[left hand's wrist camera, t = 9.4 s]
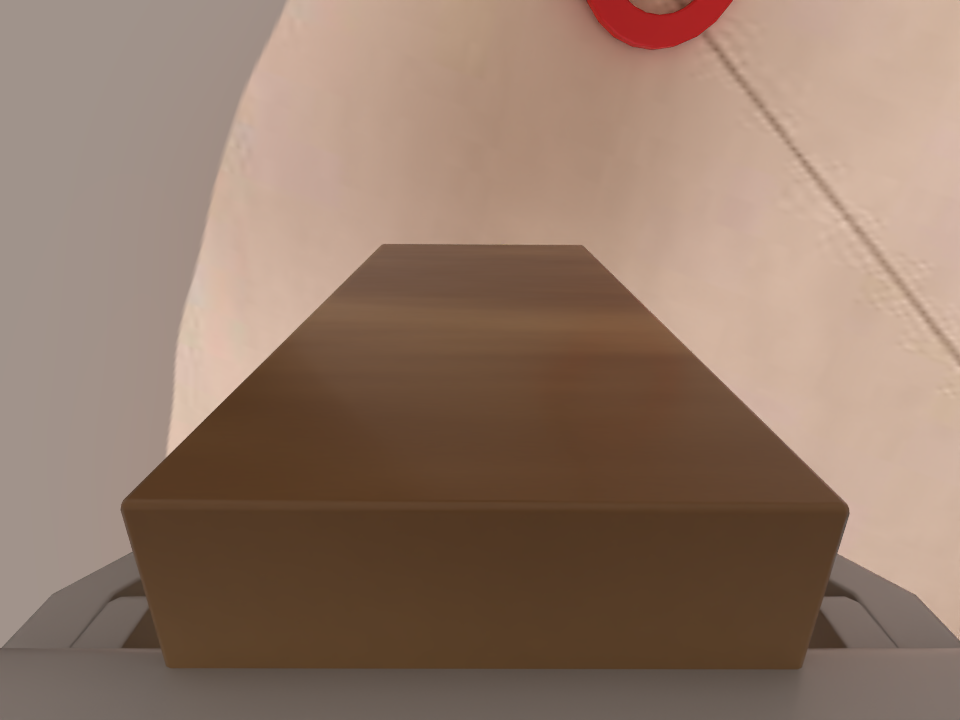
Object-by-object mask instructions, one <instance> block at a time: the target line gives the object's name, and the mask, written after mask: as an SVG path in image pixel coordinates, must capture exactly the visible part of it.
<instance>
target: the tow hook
mask: <svg viewBox="0 0 960 720" xmlns="http://www.w3.org/2000/svg"><path fill="white" fill-rule="evenodd" d="M587 2H588V4H589V6H590V8H591V9H592V11H593V13H594V15H595V17H596V18H597V20H598V22H599V23H600V24H601V25H602V26H603V27H604V28H605V29H606V30H607V31H608V32H609V33H610V34H611V35H612V36H613V37H615V38H617V39H619V40H621V41H623V42H624V43H626V44H628V45H630V46H633V47H639V48H644V49H650V50H654V49H661V48H668V47H673V46H676V45H679V44H681V43H683V42H685V41H688V40H690V39H692V38H694V37H697V36H698V35H699V34H701V33H702V32H703V31H704V30H706V29H707V28H708V27H710V26H711V25H712V24H713V23H715V22H716V21H717V19H718V18H719V17H720V16H721V15H722V13H723V12H724V11H725V10H726V8H727V7H728V6H729V5H730V3H731V2H732V0H693V1H692V2H691V3H689V4H688V5H687V6H686V7H684V8H683V9H681V10H679V11H677V12H674V13H669V14H662V15H658V14H652V13H646V12H644V11H643V10H641V9H639V8H637V7H635V6H634V5H633V4H632V3H631V2H630V1H629V0H587Z"/></svg>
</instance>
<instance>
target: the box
mask: <svg viewBox="0 0 960 720" xmlns="http://www.w3.org/2000/svg"><path fill="white" fill-rule="evenodd" d="M121 513H122V516H123V519H124V523H125V526H126V530H127V533H128V537H129V540H130V544H131V547H132V551H133V554H134V557H135V561H136V564H137V568H138V571H139V575H140V578H141V582H142V585H143V588H144V592H145V595H146V599H147V602H148V606H149V609H150V613H151V616H152V619H153V623H154V626H155V630H156V633H157V637H158V640H159V644H160V647H161V650H162V654H163V657H164V661H165V664H166V667H169V668H316V669H800V668H802V665H803V662H804V659H805V656H806V652H807V649H808V646H809V643H810V640H811V636H812V633H813V630H814V627H815V623H816V620H817V617H818V614H819V610H820V607H821V604H822V601H823V598H824V594H825V591H826V588H827V585H828V581H829V578H830V575H831V572H832V568H833V565H834V562H835V559H836V556H837V552H838V549H839V546H840V543H841V539H842V536H843V533H844V530H845V527H846V523H847V520H848V517H849V508H848V505H847V504H846V503H845V502H844V501H843V500H842V499H841V498H840V497H839V496H838V495H837V494H836V493H835V492H834V491H833V490H832V489H831V488H830V487H829V486H828V485H827V484H826V483H825V482H824V481H823V480H822V479H821V478H820V477H819V476H818V475H817V474H816V473H815V472H814V471H813V470H812V469H811V468H810V467H809V466H808V465H807V464H806V463H805V462H804V461H802V460H801V459H800V458H799V457H798V456H797V455H796V454H795V453H794V452H793V451H792V450H791V449H790V448H789V447H788V446H787V445H786V444H785V443H784V442H783V441H782V440H781V439H780V438H779V437H778V436H777V435H776V434H775V433H774V432H773V431H772V430H771V429H770V428H769V427H768V426H767V425H766V424H765V423H764V422H763V421H762V420H761V419H760V418H759V417H758V416H757V415H755V414H754V413H753V412H752V411H751V410H750V409H749V408H748V407H747V406H746V405H745V404H744V403H743V402H742V401H741V400H740V399H739V398H738V397H737V396H736V395H735V394H734V393H733V392H732V391H731V390H730V389H729V388H728V387H727V386H726V385H725V384H724V383H723V382H722V381H721V380H720V379H719V378H718V377H717V376H716V375H715V374H714V373H713V372H712V371H711V370H709V369H708V368H707V367H706V366H705V365H704V364H703V363H702V362H701V361H700V360H699V359H698V358H697V357H696V356H695V355H694V354H693V353H692V352H691V351H690V350H689V349H688V348H687V347H686V346H685V345H684V344H683V343H682V342H681V341H680V340H679V339H678V338H677V337H676V336H675V335H674V334H673V333H672V332H671V331H670V330H669V329H668V328H667V327H666V326H665V325H664V324H662V323H661V322H660V321H659V320H658V319H657V318H656V317H655V316H654V315H653V314H652V313H651V312H650V311H649V310H648V309H647V308H646V307H645V306H644V305H643V304H642V303H641V302H640V301H639V300H638V299H637V298H636V297H635V296H634V295H633V294H632V293H631V292H630V291H629V290H628V289H627V288H626V287H625V286H624V285H623V284H622V283H621V282H620V281H619V280H618V279H617V278H615V277H614V276H613V275H612V274H611V273H610V272H609V271H608V270H607V269H606V268H605V267H604V266H603V265H602V264H601V263H600V262H599V261H598V260H597V259H596V258H595V257H594V256H593V255H592V254H591V253H590V252H589V251H588V250H587V249H586V248H585V247H584V246H582V245H442V244H383V245H381V246H380V247H379V248H378V249H377V250H376V251H375V252H374V253H373V254H372V255H371V256H370V257H369V258H368V259H367V260H366V261H365V262H364V263H363V264H362V265H361V266H360V267H359V268H358V269H357V270H356V271H355V272H354V273H353V274H352V275H351V276H350V277H349V278H348V279H347V280H346V281H345V282H344V283H343V284H342V285H341V286H340V287H339V288H338V289H337V290H336V291H335V292H334V293H333V294H332V295H331V296H330V297H329V298H328V299H327V300H326V301H325V302H324V303H323V304H321V305H320V306H319V307H318V308H317V309H316V310H315V311H314V312H313V313H312V314H311V315H310V316H309V317H308V318H307V319H306V320H305V321H304V322H303V323H302V324H301V325H300V326H299V327H298V328H297V329H296V330H295V331H294V332H293V333H292V334H291V335H290V336H289V337H288V338H287V339H286V340H285V341H284V342H283V343H282V344H281V345H280V346H279V347H278V348H277V349H276V350H275V351H274V352H273V353H272V354H271V355H270V356H269V357H268V358H267V359H266V360H265V361H264V362H263V363H262V364H261V365H260V366H259V367H258V368H257V369H256V370H255V371H254V372H253V373H252V374H251V375H250V376H249V377H248V378H247V379H246V380H245V381H244V382H242V383H241V384H240V385H239V386H238V387H237V388H236V389H235V390H234V391H233V392H232V393H231V394H230V395H229V396H228V397H227V398H226V399H225V400H224V401H223V402H222V403H221V404H220V405H219V406H218V407H217V408H216V409H215V410H214V411H213V412H212V413H211V414H210V415H209V416H208V417H207V418H206V419H205V420H204V421H203V422H202V423H201V424H200V425H199V426H198V427H197V428H196V429H195V430H194V431H193V432H192V433H191V434H190V435H189V436H188V437H187V438H186V439H185V440H184V441H183V442H182V443H181V444H180V445H179V446H178V447H177V448H176V449H175V450H174V451H173V452H172V453H171V454H170V455H169V456H168V457H167V458H166V459H165V460H163V461H162V462H161V463H160V464H159V465H158V466H157V467H156V468H155V469H154V470H153V471H152V472H151V473H150V474H149V475H148V476H147V477H146V478H145V479H144V480H143V481H142V482H141V483H140V484H139V485H138V486H137V487H136V488H135V489H134V490H133V491H132V492H131V493H130V494H129V495H128V496H127V497H126V498H125V499H124V500H123V502H122V504H121Z"/></svg>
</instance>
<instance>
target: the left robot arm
mask: <svg viewBox="0 0 960 720" xmlns="http://www.w3.org/2000/svg"><path fill="white" fill-rule="evenodd" d="M0 720H960V641H959V640H958V639H957V637H956V636H955V635H954V634H953V633H952V632H951V631H950V630H949V629H948V628H947V627H946V626H945V625H944V624H943V623H942V622H941V621H940V620H939V619H938V618H937V617H936V616H935V615H934V614H933V612H932V611H931V610H930V609H929V608H928V607H927V606H926V605H925V604H924V603H923V602H922V601H921V600H920V599H919V598H918V597H917V596H916V595H915V594H913V593H911V592H909V591H907V590H905V589H903V588H901V587H899V586H898V585H896V584H894V583H892V582H890V581H888V580H886V579H884V578H882V577H881V576H879V575H877V574H875V573H873V572H871V571H869V570H867V569H865V568H863V567H862V566H860V565H858V564H856V563H854V562H852V561H850V560H848V559H846V558H844V557H843V556H841V555H839V554H837V556H836V559H835V562H834V565H833V568H832V572H831V575H830V578H829V581H828V585H827V588H826V591H825V594H824V598H823V601H822V604H821V607H820V610H819V614H818V617H817V620H816V623H815V627H814V630H813V633H812V636H811V640H810V643H809V646H808V649H807V652H806V656H805V659H804V662H803V665H802V668H800V669H316V668H169V667H166V664H165V661H164V657H163V654H162V650H161V647H160V644H159V640H158V637H157V633H156V630H155V626H154V623H153V619H152V616H151V613H150V609H149V606H148V602H147V599H146V595H145V592H144V588H143V585H142V582H141V578H140V575H139V571H138V568H137V564H136V561H135V557H134V554H133V552H131V553H129V554H128V555H126V556H124V557H122V558H120V559H118V560H116V561H114V562H112V563H111V564H109V565H107V566H105V567H103V568H101V569H99V570H97V571H95V572H94V573H92V574H90V575H88V576H86V577H84V578H82V579H80V580H78V581H77V582H75V583H73V584H71V585H69V586H67V587H65V588H63V589H62V590H60V591H58V592H56V593H54V594H52V595H51V597H49V599H48V600H47V601H46V602H45V603H44V604H43V605H42V606H41V607H40V608H39V609H38V610H37V611H36V612H35V613H34V614H33V615H32V616H31V617H30V618H29V620H28V621H27V622H26V623H25V624H24V625H23V626H22V627H21V628H20V629H19V630H18V631H17V632H16V633H15V634H14V635H13V636H12V637H11V639H10V640H9V641H8V642H7V643H6V644H5V645H4V646H3V647H2V648H0Z"/></svg>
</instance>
